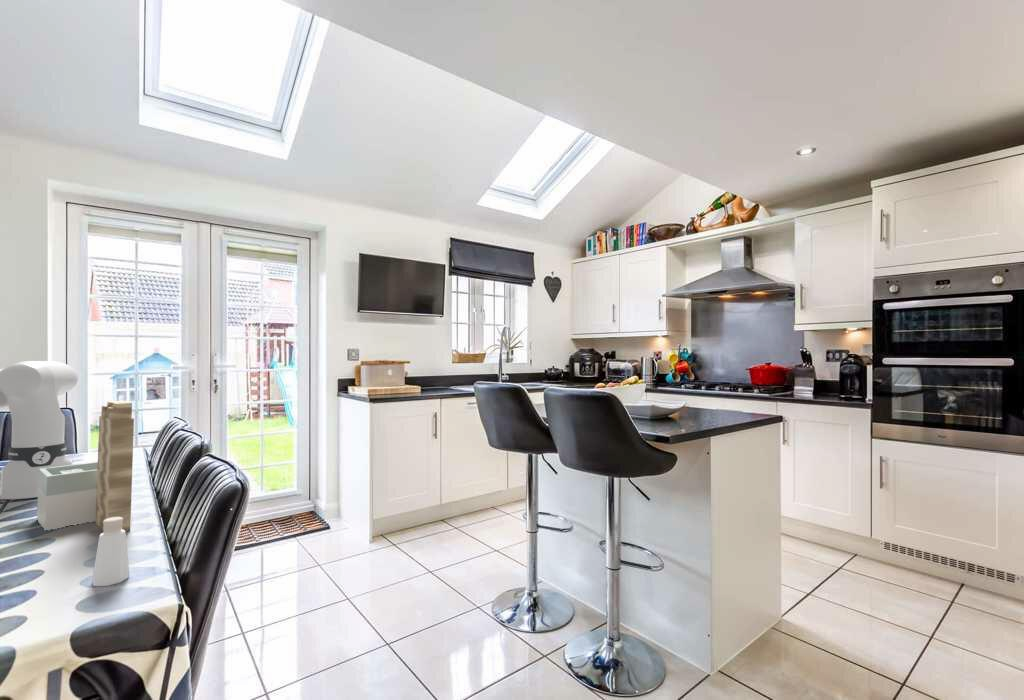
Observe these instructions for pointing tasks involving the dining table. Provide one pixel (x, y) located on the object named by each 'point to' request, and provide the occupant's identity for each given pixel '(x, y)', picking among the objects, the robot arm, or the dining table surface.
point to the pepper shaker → (111, 554)
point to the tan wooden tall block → (115, 463)
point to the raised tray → (67, 495)
